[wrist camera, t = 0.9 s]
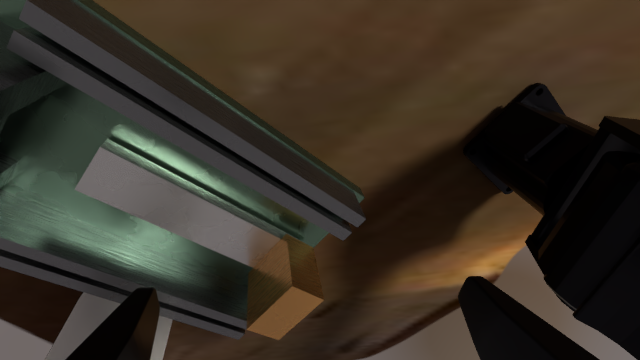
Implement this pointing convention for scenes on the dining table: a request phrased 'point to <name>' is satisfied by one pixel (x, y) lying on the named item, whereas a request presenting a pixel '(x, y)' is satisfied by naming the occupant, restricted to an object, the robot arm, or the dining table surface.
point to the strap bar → (213, 234)
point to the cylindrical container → (89, 317)
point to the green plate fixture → (150, 143)
